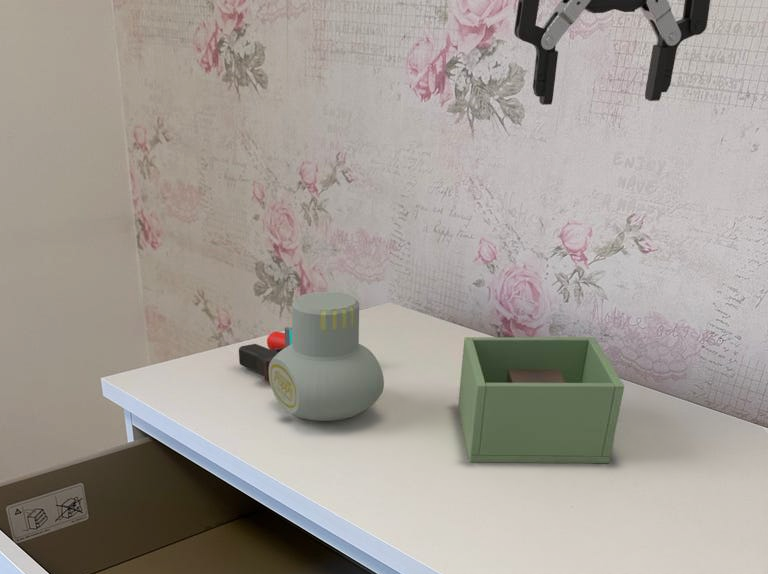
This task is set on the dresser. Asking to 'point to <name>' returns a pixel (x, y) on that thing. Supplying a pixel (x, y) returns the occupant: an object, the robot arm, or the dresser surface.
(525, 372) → the walnut block
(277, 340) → the toy gun
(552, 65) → the robot arm
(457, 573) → the dresser surface
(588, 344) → the green open box
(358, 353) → the air freshener
